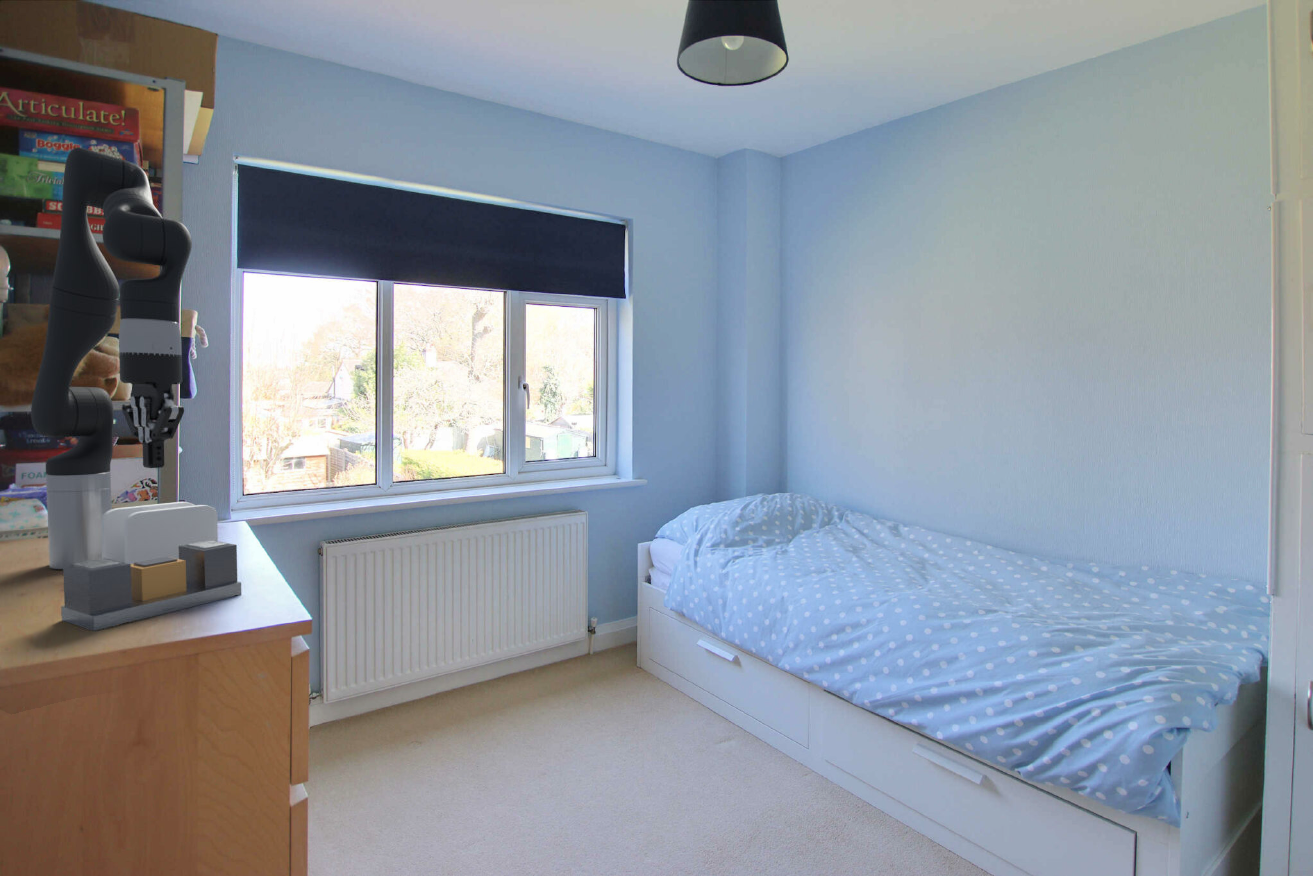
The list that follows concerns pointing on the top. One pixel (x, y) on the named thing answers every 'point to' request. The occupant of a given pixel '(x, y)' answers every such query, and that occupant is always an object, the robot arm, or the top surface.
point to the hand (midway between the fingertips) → (153, 467)
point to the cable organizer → (155, 530)
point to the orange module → (157, 578)
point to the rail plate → (106, 599)
